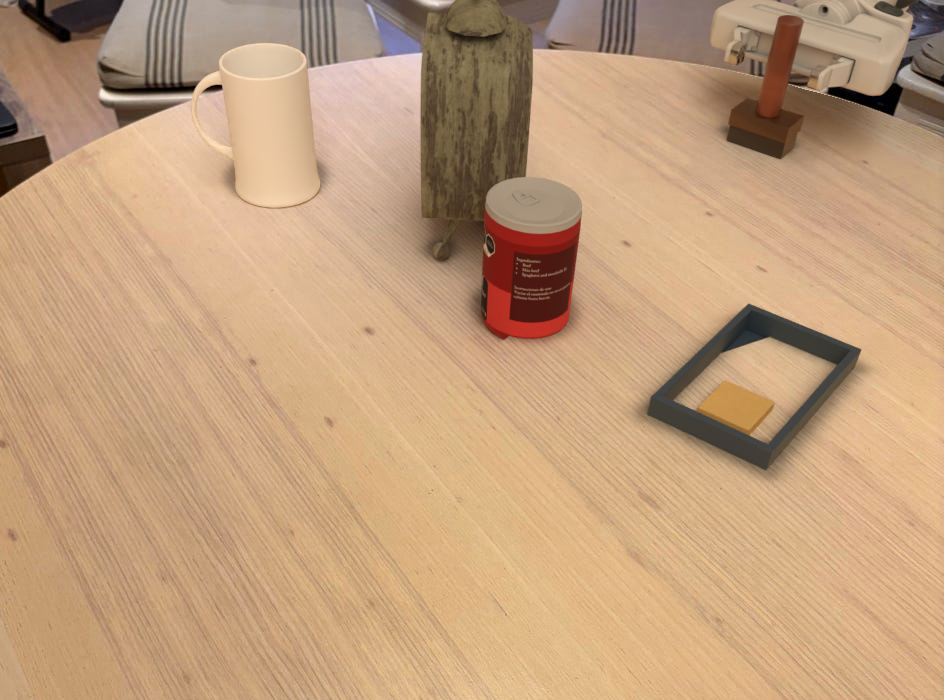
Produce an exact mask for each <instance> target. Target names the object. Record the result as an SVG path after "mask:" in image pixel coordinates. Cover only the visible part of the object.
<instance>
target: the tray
mask: <svg viewBox="0 0 944 700" xmlns="http://www.w3.org/2000/svg"><path fill="white" fill-rule="evenodd" d="M767 338H772V339H774V340H776V341H779V342H781V343H783V344H786V345H788V346H791V347H793V348H796V349H798V350H800V351H803V352H805V353H808V354H809V355H812V356H814V357H817V358H820V359H822V360H824V361H827V362H829V363H831V364H834V365H836V366H835V367H834V369H833V370H832V371H830V373H828V375H827V376H826V377H825V379H823V381H822V382H821V383H820V384H819V386H818V387H817V388H816V389H815V390H814V391H813V392H812V393H811V394H810V396H809V397H808V398H807V399H806V400H805V401H804V402H803V403H802V405H801V406H800V407H799V408H798V409H797V410H796V411H795V412H794V414H793V415H792V416H791V417H790V418H789V419H788V420H787V422H786V423H785V424H784V425H783V426H782V427H781V429H779V431H777V433H775V435H774V436H773V438H772V439H771V440H770V441H769V442H768V443H766V442H764V441H762V440H760V439H758V438H756V437H753V436H751V435H747V434H745V433H743V432H740V431H738V430H736V429H734V428H732V427H730V426H727V425H725V424H723V423H721V422H719V421H717V420H714V419H712V418H710V417H708V416H706V415H703V414H701V413H699V412H697V410H695V409H693V408H690V407H688V406H686V405H684V404H682V403H679V402H677V401H675V399H676V398H677V397H678V396H679V395H680V394H681V393H682V392H683V391H684V390H685V389H686V388H687V387H688V386H689V385H690V384H691V383H692V382H693V381H695V380H696V378H697V377H698V376H699V375H700V374H702V373H703V372H704V370H705V369H706V368H707V367H709V366H710V364H711V363H713V362H714V361H715V360H716V359H717V358H718V357H719V356H720V355H721V354H724V353H726V352H730V351H732V350H736V349H738V348H741V347H744V346H747V345H750V344H753V343H755V342H759V341H763V340H764V339H767ZM861 352H862V349H861V348H859V347H858V346H855V345H852V344H850V343H847V342H845V341H842V340H841V339H840V340H839V339H837V338H835V337H832V336H830V335H828V334H825V333H822V332H821V331H818V330H816V329H812V328H810V327H808V326H806V325H803V324H800V323H798V322H795V321H793V320H790V319H788V318H786V317H784V316H780V315H778V314H776V313H773V312H771V311H768V310H766V309H764V308H761V307H759V306H756V305H754V304H752V303H747V304H746V305H745V306H744V307H743V308H741V310H740V311H739V312H738V313H737V314H735V316H734V317H733V318H732V319H731V320H729V321H728V322H727V323H726V324H725V325H724V326H723V327H722V328H721V329H720V330H719V331H718V332H717V333H716V334H715V335H714V336H713V337H712V338H711V339H710V340H709V341H707V342H706V344H704V345H703V346H702V347H701V348H700V349H699V350H698V351H697V352H696V353H695V354H694V355H693V356H692V357H691V358H689V360H688V361H687V362H686V363H685V364H684V365H683V366H681V368H680V369H678V370H677V372H675V373H674V374H673V375H672V376H671V377H670V378H669V379H668V380H667V381H666V382H665V383H664V384H663V385H662V386H661V387H659V389H657V391H655V392H654V393H653V394H652V395H651V397H650V400H649V405H648V410H647V414H646V415H647V416H649V417H651V418H653V419H655V420H658V421H660V422H662V423H664V424H666V425H668V426H671V427H673V428H674V429H676V430H679V431H681V432H683V433H685V434H687V435H690V436H692V437H694V438H696V439H698V440H700V441H703V442H704V443H707V444H708V445H711V446H713V447H715V448H717V449H719V450H721V451H723V452H726V453H728V454H730V455H732V456H734V457H736V458H739V459H741V460H742V461H744V462H746V463H749V464H751V465H753V466H755V467H758V468H760V469H762V470H764V471H767V470H768V469H769V468H770V466H771V465H772V464H773V463H774V462H775V461H776V460H777V459H778V457H779V456H780V455H781V454H782V453H783V452H784V450H785V449H786V448H787V447H788V446H789V445H790V443H791V442H793V440H794V439H795V438H796V436H797V435H798V434H799V433H800V432H801V430H803V428H804V427H805V426H806V425H807V423H808V422H809V421H810V420H811V419H812V418H813V417H814V416H815V414H816V413H817V412H818V411H819V410H820V409H821V408H822V407H823V405H824V404H825V403H826V402H827V400H828V399H829V398H830V397H831V396H832V395H833V393H834V392H835V391H836V390H837V389H838V387H840V385H841V384H842V383H843V381H844V380H845V379H847V377H848V376H849V375H850V374H851V372H852V371H853V370H854V369H855V368H856V365H857V362H858V360H859V357H860V355H861Z"/></svg>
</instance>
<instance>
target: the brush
mask: <svg viewBox="0 0 944 700" xmlns="http://www.w3.org/2000/svg"><path fill="white" fill-rule="evenodd" d="M803 24H804V20H803V19H802V18H800V17H797V16H793V15H783V16H780V17H778V20H777V24H776V28H775V32H774V36H773V40H772V45H771V49H770V53H769V57H768V61H767V64H765V70H764V74H763V78H762V83H761V87H760V91H759V94H758V98H757V100H756V99H753V98H751V97H746V98H745V99H743V100H742V101H741V102H739V103H738V104H737V105H735V106H734V107H733V108H731V110H730V113H729V119H728V122H727V123H728V125H729V126H728V131H727V136H726V141H728V142H730V143H733V144H736V145H739V146H742V147H745V148H748V149H751V150H753V151H756V152H759V153H762V154H765V155H768V156H771V157H774V158H777V159H779V160H781V159H782V158H784V157H785V156H786V155H787V154H788V153H790V152H791V151H792V150H793V149H794V148H795V144H796V140H797V137H798V133H799V132H801V130H802V126H803V122H804V119H805V115H802V114H800V113H796V112H794V111H790V110H787V109H785V108H783V105H784V100H785V97H786V93H787V89H788V86H789V81H790V77H791V74H792V71H791V70H792V66H793V62H794V59H795V55H796V51H797V47H798V43H799V39H800V36H801V32H802V28H803Z"/></svg>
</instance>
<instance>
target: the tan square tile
mask: <svg viewBox="0 0 944 700" xmlns="http://www.w3.org/2000/svg"><path fill="white" fill-rule="evenodd" d="M775 404H776V402H775V401H774V400H771V399H769V398H767V397H764V396H763V395H760V394H757V393H756V392H753V391H751V390H749V389H747V388H744V387H742V386H739V385H737V384H735V383H733V382H730V381H729V380H727V379H726V380H723V381H722V383H720V384H719V386H717V388H715V390H713V392H712V393H711V394H709V396H708V397H707V398H706V399H705V400H704V401H702V403H701V404H699V406H698V407H697V410H696V411H697V412H699V413H701V414H703V415H706V416H708V417H710V418H712V419H714V420H717V421H719V422H721V423H723V424H725V425H727V426H730V427H732V428H734V429H736V430H738V431H740V432H743V433H745V434H747V435H749V436H751V435H752V434H753V432H754V431H755V430H756V429H757V428H758V427H759V426H760V425H761V423H763V421H764V420H765V419H766V418H767V417H768V416H769V415H770V413H772V411H773V409H774V407H775Z"/></svg>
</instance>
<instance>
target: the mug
mask: <svg viewBox="0 0 944 700" xmlns="http://www.w3.org/2000/svg"><path fill="white" fill-rule="evenodd" d="M218 67H219V68H218V69H219V70H217V71H214V72H211V73H209V74H207V75H206V76H205V77H203V78H202V79H201V80H200V81H199V82H198V83H197V85H196V86H195V88H194V90H193V92H192V95H191V101H190V113H191V114H190V115H191V118H192V122H193V126H194V127H195V129H196V132H197V133H198V135H199V136H200V138H201V139H202V140H203V142H204V143H205V144H206V145H207V146H208V147H209V148H211V150H213V151H214V152H216V153H217V154H219V155H220V156H222V157H225V158H228V159H229V160H233V165H234V175H235V181H234V189H235V191H236V194H237V195H238V197H240V198H241V199H242V200H243V201H244V202H247V203H248V204H251V205H253V206H256V207H257V206H258V207H263V208H269V209H270V208H273V209H281V208H289V207H294V206H298V205H301V204H304V203H306V202H308V201H310V200H311V199H312V198H314V197H315V196H316V195H317V194H318V192H319V191H320V189H321V178H320V175H319V172H318V167H317V166H318V165H317V156H316V147H315V145H316V144H315V136H314V135H315V134H314V124H313V114H312V113H313V112H312V103H311V93H310V92H311V91H310V81H309V70H308V60H307V56H306V55H305V54H304V53H303V52H302V51H301V50H300V49H297V48H296V47H294V46H293V47H292V46H290V45H286V44H281V43H272V42H259V43H258V42H257V43H249V44H245V45H240V46H237V47H234V48H232V49H230V50H228V51H226V52H225V53H223V54H222V55H221V56H220V58H219V60H218ZM216 85H219V86H222V88H221V89H222V93H223V100H224V107H225V114H226V120H227V127H228V133H229V139H230V140H229V141H230V145H224V144H222V143H220V142H218V141H217V140H214V139H213V138H212V137H211V136H210V135H209V134H208V133H207V132H206V130H205V129H204V128H203V126H202V124H201V122H200V119H199V117H198V112H197V111H198V110H197V107H198V100H199V98H200V96H201V94H202V93H203V92H204V91H205V90H207V88H210V87H211V86H216Z"/></svg>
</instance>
